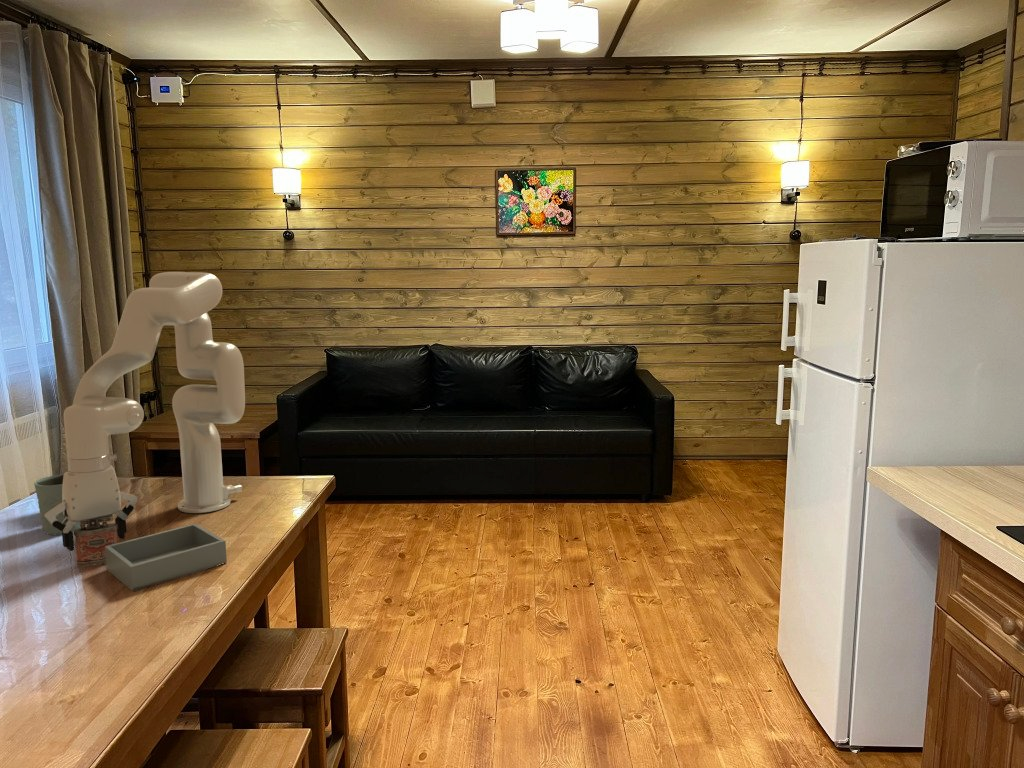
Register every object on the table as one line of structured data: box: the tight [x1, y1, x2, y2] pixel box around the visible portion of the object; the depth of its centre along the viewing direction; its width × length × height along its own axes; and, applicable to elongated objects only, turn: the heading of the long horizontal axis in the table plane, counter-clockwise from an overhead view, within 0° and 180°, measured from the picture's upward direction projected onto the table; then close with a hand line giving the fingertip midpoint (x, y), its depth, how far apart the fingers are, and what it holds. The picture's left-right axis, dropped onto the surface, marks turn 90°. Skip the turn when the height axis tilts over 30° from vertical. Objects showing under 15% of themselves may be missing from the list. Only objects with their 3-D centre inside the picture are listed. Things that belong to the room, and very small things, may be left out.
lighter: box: [73, 514, 119, 567], centre depth 156 cm, size 8×3×10 cm, turn 117°
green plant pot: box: [33, 473, 81, 535], centre depth 175 cm, size 10×10×12 cm
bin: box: [105, 523, 228, 592], centre depth 154 cm, size 19×15×5 cm
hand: (95, 543), depth 156 cm, fingers open, 9 cm apart
